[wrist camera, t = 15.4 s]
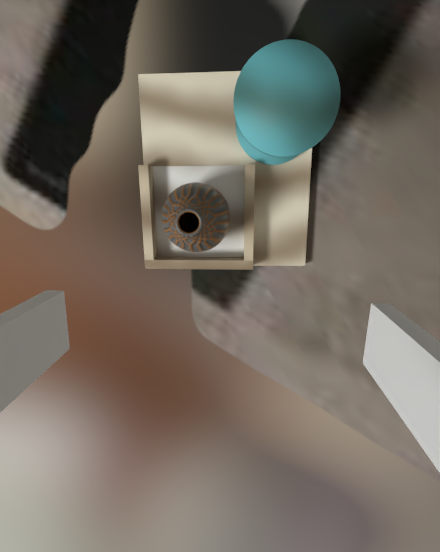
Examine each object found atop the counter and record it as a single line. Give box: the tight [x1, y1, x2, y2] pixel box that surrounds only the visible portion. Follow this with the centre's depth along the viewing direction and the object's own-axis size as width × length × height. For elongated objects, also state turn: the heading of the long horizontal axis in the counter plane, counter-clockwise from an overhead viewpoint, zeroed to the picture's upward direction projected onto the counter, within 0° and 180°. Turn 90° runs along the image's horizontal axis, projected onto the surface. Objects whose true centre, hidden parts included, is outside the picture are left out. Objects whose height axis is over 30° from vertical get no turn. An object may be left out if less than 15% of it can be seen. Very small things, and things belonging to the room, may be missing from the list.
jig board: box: [138, 40, 340, 269], centre depth 32 cm, size 20×18×11 cm
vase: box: [162, 182, 231, 252], centre depth 33 cm, size 7×7×9 cm
